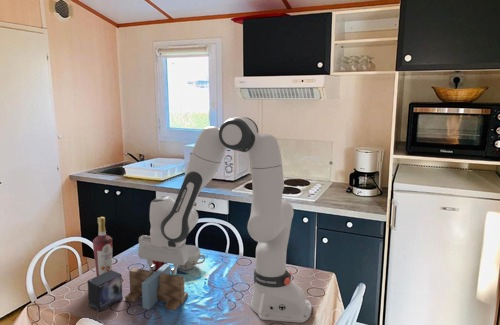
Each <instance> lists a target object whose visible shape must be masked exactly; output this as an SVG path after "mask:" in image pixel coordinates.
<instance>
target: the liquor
mask: <svg viewBox="0 0 500 325" xmlns="http://www.w3.org/2000/svg"><path fill="white" fill-rule="evenodd" d="M97 224H98V235H97V236H96V237H95V238H94V239H93V240H92V247H93V255H94V264H95V265H94V266H95V272H96V277H97V276H99V275H101V274H103V273H105V272H108V271H110V270H113V237H111V236H110V235H108V234H107V233H106V232H107V231H106V226H105V225H106V217H105V216H100V217H97Z"/></svg>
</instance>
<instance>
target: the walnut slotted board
mask: <svg viewBox="0 0 500 325" xmlns="http://www.w3.org/2000/svg"><path fill="white" fill-rule="evenodd" d="M153 273H154V272H153V271H151V270H148V269H147V270H146V269H141V268H135V267H132V268H130V269H129V270H128V274H129V275H128V276H129V292H128V294H126V295H125V301H129V302H133V303H135V302H136V301H137V300H139V299H140V298H142V282H144V281H145V280H146V279H147V278H148V277H150V276H151V275H152V274H153ZM188 297H189V293H188V292H186V291H185V277H184V276H181V275H176V274H171V273H170V274H164V273H162V274H161V275H160V276H159V287H158V288H157V298H158V301H159V302H165V306H164V307H165V309H168V310H172V311H176V310H177V309H178V308H179V307H180V306H182V305H183V304H184V303H185V300H186V299H187V298H188Z"/></svg>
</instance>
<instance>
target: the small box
mask: <svg viewBox="0 0 500 325" xmlns="http://www.w3.org/2000/svg"><path fill="white" fill-rule="evenodd" d="M122 279H123V278H122V273H120V272H117V271H115V270H113V269H112V270H110V271H108V272H105V273H103V274H101V275H99V276H97V275H96V276H95V277H92V278H90V279H88V280H87V282H86V283H87V294H88V308H90V309H92V310H93V311H97V312H99V313H100V312H101V311H104V310H105V309H107V308H108V307H110V306H112V305H115V304H116V303H118V302H120V301H122V300H123V280H122Z"/></svg>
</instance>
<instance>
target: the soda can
mask: <svg viewBox="0 0 500 325" xmlns="http://www.w3.org/2000/svg"><path fill="white" fill-rule="evenodd" d="M152 262H153V264H154V265H155V270H150V271H153V273H154V272H156V271H157V270H158V269H159V268H160V267H162V266H163V265H164V264H168V263H165V262H159V261H153V260H152Z"/></svg>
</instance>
